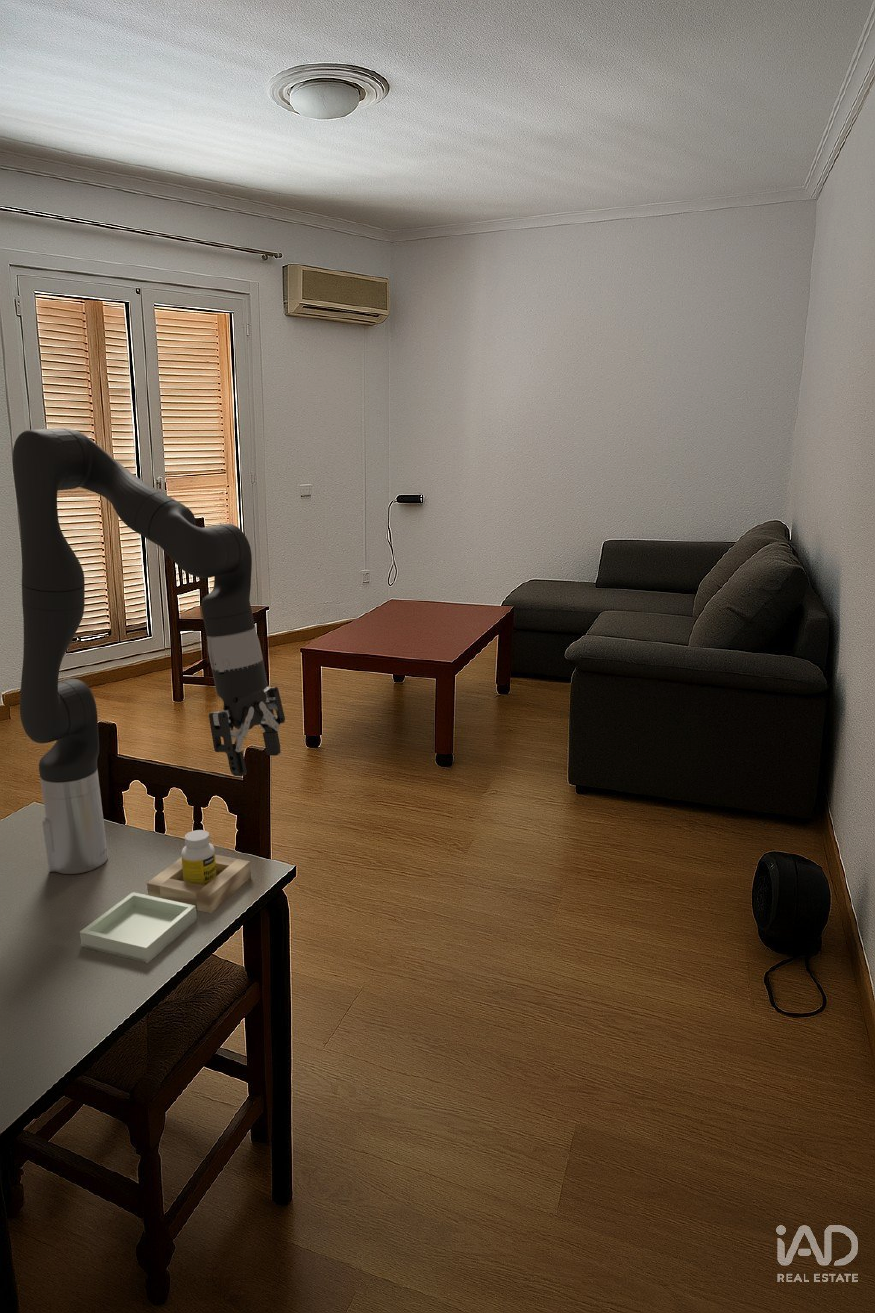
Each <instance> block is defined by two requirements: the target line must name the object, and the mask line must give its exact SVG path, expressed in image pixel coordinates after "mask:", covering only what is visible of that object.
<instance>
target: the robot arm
mask: <svg viewBox="0 0 875 1313" xmlns="http://www.w3.org/2000/svg"><path fill="white" fill-rule="evenodd" d="M12 472H13V481H14V487H15V495H16V502H17V503H16V504H17V509H18V518H19V529H20V546H21V547H20V548H21V549H20V550H21V596H22V597H21V600H22V601H21V602H22V603H21V604H22V614H23V615H22V618H23V653H22V654H23V655H22V657H23V658H22V669H21V670H22V671H21V681H20V692H19V693H20V694H19V715H20V721H21V725H22V727H23V730H24V732H25V734H26V736H27V737H29V739H30V740H32V742H35V743H38V744H48V743H52V742H55V743H54V744H53V745H52V747H51V748H50V749H49V750H48V751H47V752H46V753H45V754H43V756H42V757H41V758H40V760H39V762H38V772H39V777H40V778H39V779H40V786H41V793H42V800H43V808H44V816H45V817H44V819H43V821H42V831H43V837H44V843H45V846H44V847H45V853H46V859H47V865H48V866H47V867H48V872H49V873H51V872H54V873H59V874H63V875H73V874H75V875H76V874H82V873H86V872H90V871H92V870H95V869H97V868H99V867H101V866H102V865H103V864H105V863H106V861H107V860H108V857H109V856H108V845H107V839H106V828H105V822H104V814H103V805H102V796H101V787H100V781H99V780H100V779H99V771H98V757H99V755H100V738H99V737H100V736H99V720H98V719H99V718H98V708H97V703H96V700H95V697H94V694H93V692H92V690H91V688H90V687H89V686H88V685H87V683H85V682H84V681H82V680H81V679H77V678H67V679H64V680H60V681H59V675H60V674H59V673H60V669H61V664H62V662H63V658H64V656H65V654H66V652H67V650H68V648H69V647H70V644H71V642H72V641H73V639H74V637H75V635H76V633H77V631H78V629H79V627H80V625H81V622H82V620H83V617H84V613H85V602H86V601H85V600H86V598H85V596H86V594H85V591H86V588H85V585H86V584H85V583H86V582H85V573H84V570H83V566H82V565H81V564H82V563H81V562H80V560H79V558H78V557H77V555H76V553H75V552H74V550H73V548H72V547H71V545H70V544H69V542H68V541H67V539H66V537H65V536H64V534H63V532H62V528H61V526H60V520H59V512H58V491H65V490H66V491H67V490H74V489H77V488H81V489H85V490H87V491H90V492H93V493H96V494H98V495H99V496H102V498H103V497H104V498H105V499H106V500H108V501H109V502H110V503H111V505H112V507H113V509H114V511H115V513H116V515H117V516H118V517H119V519H120V520H121V521H122V522H123V523H124V524H125V526H127V527H128V528H129V529H131V530H132V531H134V532H135V533H136V534H138V535H140V536H142V537H143V538H144V539H146V540H148V541H149V542H152V543H154V544H155V545H157V546H160V548H161V549H162V550H163V552H164V553H165V554H166V555H167V556H168V557H169V558H170V559H171V561H173V562H174V563H175V564H176V565H177V566H178V567H179V569H181V570H182V571H183V572H185V573H186V574H188V575H191V576H193V577H195V578H200V579H209V578H210V579H211V578H213V577H214V580H213V588H212V590H211V591H210V592H209V593H208V594H207V595H206V596H204V597H203V598H202V600H201V604H200V607H201V614H202V617H203V618H202V619H203V624H204V628H205V629H204V630H205V633H206V639H207V640H206V641H207V652H208V653H207V654H208V656H209V657H208V658H209V663H210V667H211V672H212V676H213V681H214V687H215V688H214V689H215V691H216V694H217V696H218V697H219V698H220V699H222V702H223V707H222V708H223V709H222V710H219V711H211V712H209V714H208V719H209V723H210V724H209V725H210V732H211V738H212V743H213V744H212V745H213V750H214V752H215V753H225V754H226V756H227V761H228V766H229V771H230V773H231V774H232V775H233V776H234V777H244V776H245V775H247V773H248V771H247V765H246V761H245V756H244V751H243V750H242V748H243V743H244V739H245V738H246V737H247V736H248V733H249V730H251V729H253V728H254V727H255V726H258V727H259V728H260V729H261V730H262V731H263V732H262V737H263V742H264V745H265V746H264V747H265V753H266V755H267V756H271V757H272V756H278V755H280V754H281V752H282V751H281V743H280V738H279V732H278V731H279V730H280V725H281V724H284V723H285V721H286V717H285V712H284V708H283V702H282V700H281V696H280V691H279V688H278V687H277V686H268V680H267V679H268V678H267V674H266V669H265V663H264V657H263V652H262V647H261V643H260V639H259V636H258V634H257V630H256V627H255V619H254V616H253V610H252V605H251V601H250V599H251V589H252V587H251V586H252V570H253V569H252V568H253V567H252V566H253V564H252V563H253V562H252V561H253V555H252V550H251V549H252V548H251V545H250V542H249V540H248V538H247V535H246V534H245V532H244V531H243V530H242V529H241V528H239V527H238V526H237V525H234V524H231V523H222V524H216V525H211V526H204V527H200V526H197V525H196V524H197V523H196V516H195V514H194V512H193V511H192V510H191V509H190V508H189V507H187V506H186V505H185V504H183V503H181V502H180V501H177V500H176V499H175V498H173V497H171V496H169V495H167V494H166V493H164V492H162V491H161V490H158V489H156V488H155V487H153V486H151V485H150V484H149V483H147V482H146V481H144V480H142V479H140V477H138V476H137V475H135V474H134V473H133V472H131V471H130V470H128V469H127V468H126V467H125V466H124V465H123V464H121V463H120V462H119V461H117V460H116V459H115V458H114V457H112V456H111V455H110V454H109V453H108V452H106V451H105V450H104V449H103V448H102V447H101V446H100V445H98V444H97V443H96V442H95V441H94V440H92V439H91V438H90V437H88V436H87V435H86V434H84V433H82V432H80V431H79V430H76V429H73V428H72V429H71V428H65V427H64V428H62V427H61V428H38V429H37V428H35V429H28V430H24V431H22V432H21V433H20V434H19V435H18V436H17V438H16V439H15V442H14V445H13V449H12ZM274 711H275V713H276V715H275V713H274ZM234 728H235V729H234ZM222 739H223V740H222ZM234 739H235V740H234ZM233 740H234V743H233ZM222 741H223V742H222Z"/></svg>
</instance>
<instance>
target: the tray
mask: <svg viewBox="0 0 875 1313" xmlns="http://www.w3.org/2000/svg"><path fill="white" fill-rule="evenodd" d="M197 916H198V915H197V910H196V906H195V905H190V904H186V903H181V902H176V901H172V900H167V899H162V898H158V897H153V896H149V895H148V894H144V893H143V894H142V893H139V892H135V891H133V892H131V893H130V894H128V895H127V896H125V897H124V898H123V899H122V900H120V901H119V902H118V903H116V904H114V905H113V906H112V907H111V908H110V909H108V910H106V912H104V913H103V914H102V915H100V916H99V917H98V918H96V919H94V921H92V922H91V923H90V924H88V925H87V926H86V927H84V928H82V929H81V930H80V931H79V937H80V938H79V939H80V943H81V944H80V946H81V947H83V948H85V949H90V950H94V951H98V952H101V953H104V954H105V953H106V954H109V955H114V956H118V957H122V958H126V959H131V960H133V961H139V962H143V963H146V964H148V963H150V962H151V961H152V960H153V959H154V958H156V956H157V955H159V954H160V953H161V952H162V951H163V950H165V948H167V947H168V946H169V945H171V943H172V942H174V941H175V940H176V939H177V938H178V937H179V936H180V935H181V934H183V933H184V932H185V931H186V930H187V929H188V928H190V926H192V925H193V924H194V923H195V922H196V921H197V920H198V917H197Z"/></svg>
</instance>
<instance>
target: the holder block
mask: <svg viewBox="0 0 875 1313" xmlns="http://www.w3.org/2000/svg"><path fill="white" fill-rule="evenodd" d="M215 861H216V877H215V878H214V879H213V880H212V881H210V882H209V883H208V884H207V885H206V886H204V885H199V884H194V883H189V882H184V881H183V870H182V857H179V858H178V859H176V861H174V862H173V863H171V864H170V865H168V867H166V868H165V869H164V870H162V871H161V872H160V873H158V874H157V875H156V876H154V877H153V878H151V879H150V880H149V881H148V882H146V886H147V895H149V896H153V897H158V898H162V899H167V900H172V901H176V902H181V903H186V904H190V905H195V906H196V911H200V912H204V913H209V914H212V912H214V911H215V909H217V908H219V906H220V905H221V904H222V903H224V902H225V901H226V900H227V899H228V898H229V897H231V896H232V895H233V894H234V893H235V892H236V891H237V890H238V889H239V888H241V885H242V884H243V885H244V884H245V883H246V882H247V881H248V880H250V879H251V878H252V871H251V870H252V869H251V860H245V859H240V858H237V857H236V858H234V857H229V856H225V855H220V854H219V855H218V854H215ZM244 882H245V883H244ZM243 885H242V886H243Z"/></svg>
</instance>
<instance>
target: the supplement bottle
mask: <svg viewBox="0 0 875 1313" xmlns="http://www.w3.org/2000/svg"><path fill="white" fill-rule="evenodd" d="M210 840H211V837H210V832H209V831H207V830H204V829H197V830H192V831H189V832H187V833H186V834H185V835H184V845H185V846H184V847H183V848H182V849H181V855H180V856H181V857H182V870H183V881H184V882H189V883H194V884H199V885H204V886H206V885H207V884H208V883H209V882H210V881H212V880H213V879H214V878H215V877H216V861H215V855H216V851H215V847H214V846H215V845H213V844H212V843H210V842H211V841H210ZM181 857H180V858H181Z"/></svg>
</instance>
